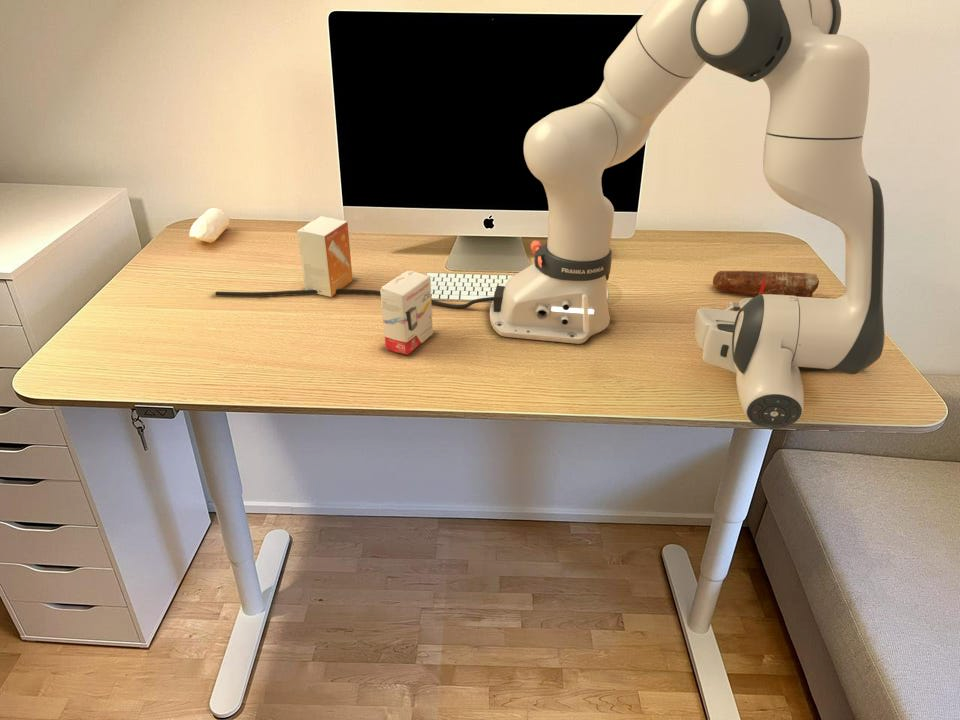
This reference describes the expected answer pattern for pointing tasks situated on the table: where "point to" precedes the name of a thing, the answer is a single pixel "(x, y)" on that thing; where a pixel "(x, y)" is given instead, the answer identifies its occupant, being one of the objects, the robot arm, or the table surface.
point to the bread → (767, 282)
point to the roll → (209, 225)
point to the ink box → (407, 311)
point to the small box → (325, 255)
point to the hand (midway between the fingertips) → (755, 308)
